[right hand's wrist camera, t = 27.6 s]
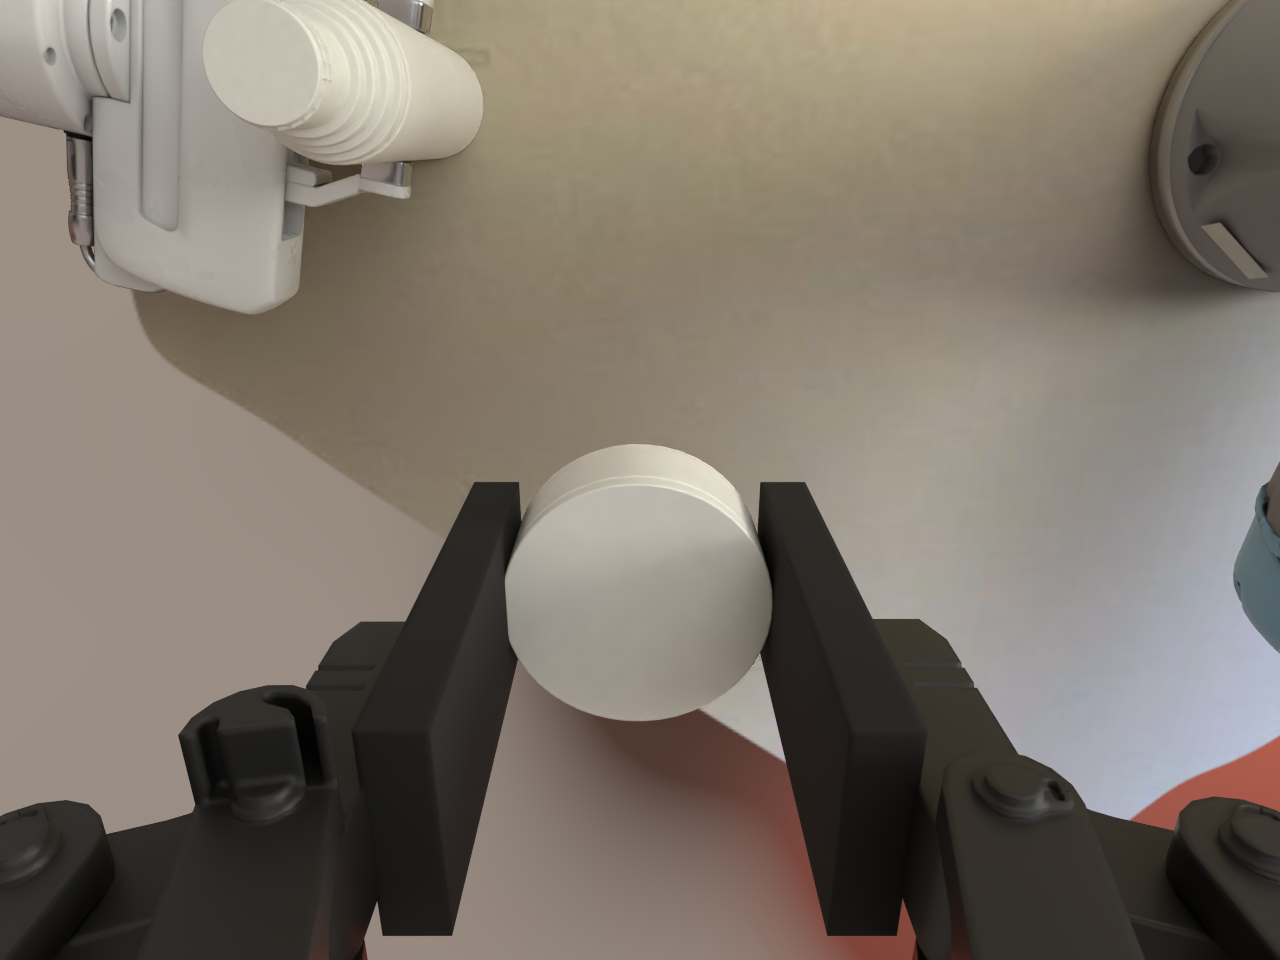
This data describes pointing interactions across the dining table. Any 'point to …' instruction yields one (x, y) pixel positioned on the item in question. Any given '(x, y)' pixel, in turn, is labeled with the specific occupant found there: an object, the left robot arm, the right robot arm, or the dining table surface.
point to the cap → (637, 584)
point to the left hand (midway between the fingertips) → (419, 98)
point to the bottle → (341, 81)
